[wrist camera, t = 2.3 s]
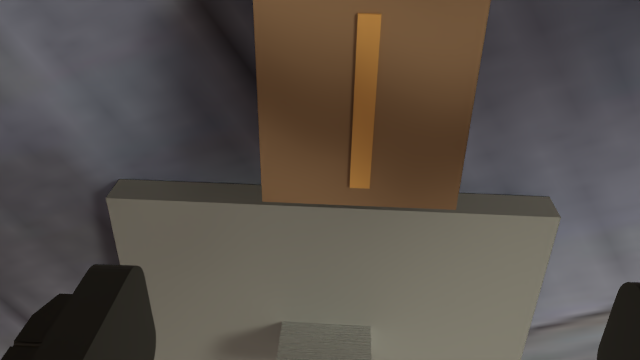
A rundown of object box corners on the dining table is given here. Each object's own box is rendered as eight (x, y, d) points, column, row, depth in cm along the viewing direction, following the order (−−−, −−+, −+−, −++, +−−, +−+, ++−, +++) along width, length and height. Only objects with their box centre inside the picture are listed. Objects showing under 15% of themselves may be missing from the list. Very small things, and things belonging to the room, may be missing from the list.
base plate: (119, 179, 24) (105, 198, 23) (549, 197, 23) (560, 217, 22) (162, 397, 31) (153, 420, 30) (491, 416, 30) (497, 441, 29)
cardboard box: (277, -52, 19) (251, -18, 14) (458, -48, 19) (493, -12, 14) (282, 127, 22) (261, 203, 17) (434, 133, 22) (456, 211, 17)
